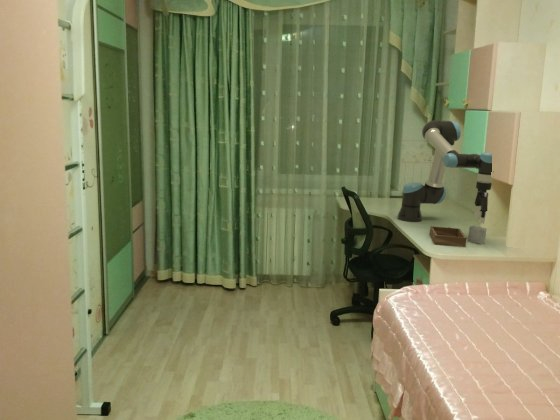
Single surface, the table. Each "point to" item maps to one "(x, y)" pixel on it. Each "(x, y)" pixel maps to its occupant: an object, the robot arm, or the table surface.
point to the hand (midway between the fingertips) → (478, 220)
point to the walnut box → (447, 236)
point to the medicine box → (477, 234)
